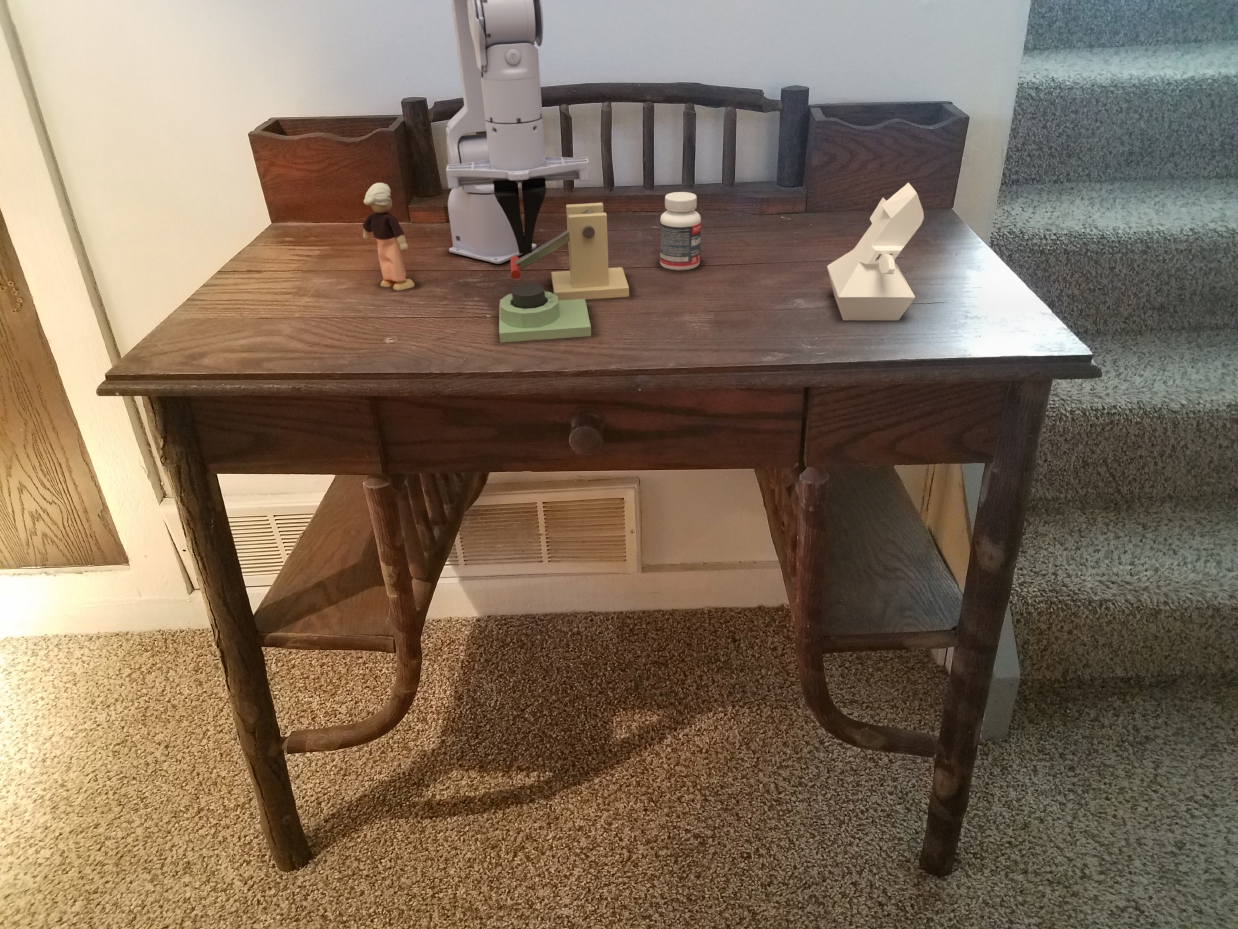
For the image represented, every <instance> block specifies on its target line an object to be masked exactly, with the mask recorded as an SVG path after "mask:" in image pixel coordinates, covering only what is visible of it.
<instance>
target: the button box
mask: <svg viewBox="0 0 1238 929" xmlns="http://www.w3.org/2000/svg"><path fill="white" fill-rule="evenodd" d="M498 306H499V307H498V323H499V324H498V335H499V342H500V343H513V342H524V341H525V342H527V341H540V340H541V341H542V340H553V339H555V340H556V339H567V338H581V337H592V326H591V325H592V324H591V321H590V316H589V312H588V307H587V301H586V299H575V300H560V301H558V296H556V295H554V292H551V291H545V305H543V306H540V307H537V308H530V309H523V308H516V307H514V306H513V298H512V293H508V294H506V295H504V297H502V298H501V299H500V300H499V305H498Z"/></svg>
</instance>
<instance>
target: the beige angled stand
mask: <svg viewBox="0 0 1238 929" xmlns="http://www.w3.org/2000/svg"><path fill="white" fill-rule="evenodd" d="M924 219H925V214H924V209H923V206H922V203H921V201H920V197H919V195H918V192H917V191H916V189H915V188H914V187H913V186H912V184H910V182H907V183H905V185H904V186H902V187H901V188H900V189H899V190H897V191H896V192H895V193H894V194H892V196H890V197H889V198H888V199H886V198H884V197H882V198H881V199H880V201H879V202H878V204H877V206H876V208H875V209H874V211H873V212H872V214H871V216H870V217H869V221H870V222H871V225H870V226H869V227H868V228H867V229H866V232H865V233H864V234H863V235H862V237H861V238H860V240H859V241H858V242H857V244H856V245H855V246H854V248H853V249H851V250H850V251H849V252H846V253H845V254H843V255H842V256H841V257H839V258H837V259H835V260H833V261H832V262H831V263H829V264H828V265H826V268H827V272H828V276H829V281H830V284H831V288H832V292H833V296H834V299H835V302H836V305H837V308H838V310H839V313H840V316H841V318H842V321H900V319H901V318H902V316H903V315H904V314H905V313H906V311H907V310H908V309H909V307H910V306H911V304H912V303H913V301H914V300H915V299H916V296H915V293H914V292H913V290H912V289H911V287H910V285H909V282H908V281H907V280H906V278H905V276H904V274H903V273H902V271H901V269H900V267H899V265H898V264H897V263H896V262H895V260H896V259H897V257H898V256H899V255H900V253H901V252H902V250H903V249H904V248H905V246H906V245H907V244H908V242H909V241H910V240H911V239H912V237H914V235H915V234H916V232H917V231H918V229H920V227H921V226H922V223H923V222H924Z"/></svg>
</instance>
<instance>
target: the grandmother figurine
mask: <svg viewBox="0 0 1238 929" xmlns="http://www.w3.org/2000/svg"><path fill="white" fill-rule="evenodd" d="M391 193H392V191H391V188H390V186H389V184H387V183H384V182H376V183H374V184H372V185H371V186H370V187H369V188H368V190H367V191H366V192H365V196H364V199H363V204H364V205H366V206H369V207H371V209H372V211H374V212H373V213H371V214H369V215H368V216H367V217H366V218H365V220H364V222H363V223H362V228H363V230H362V231H363V233H362V238H363V239H364V240H366V241H370V240H371V239H372V234H373V237H374V239H375V241H376V243H377V244H376V245H377V254H378V262H379V266H380V270H381V276H382V279H383V280H381V282H380V287H382V288H390V287H392V289H393V290H394V291H403V290H408V289H412V288H414V287H415V284H416V283H414V281H413V280H412V279H410V278H406V277H407V271H406V268H405V265H404V264H405V263H404V261H403V257H402V254H401V252H407V251H409V245H408V244H407V238H406V236H405V232H404V231H403V228H402V226H401V225H400V223H399V220H398V218H397V217H395V216H394V215H392V214H391V213H389V212H390V211H391V210H392V207H393V201H392V198H391V197H392V195H391Z"/></svg>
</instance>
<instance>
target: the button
mask: <svg viewBox="0 0 1238 929" xmlns="http://www.w3.org/2000/svg"><path fill="white" fill-rule="evenodd" d="M511 294H512V298H513V306H514V307H516V308H523V309H530V308H537V307H540V306H543V305H545V287H544V286H543V285H541V284H539V283H522V284H519V285H516V286H514V287H513V288H512V289H511Z"/></svg>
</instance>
